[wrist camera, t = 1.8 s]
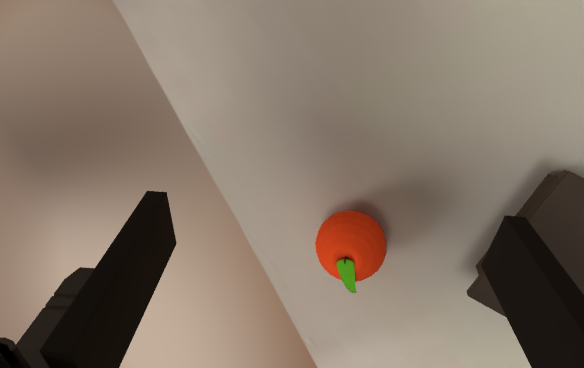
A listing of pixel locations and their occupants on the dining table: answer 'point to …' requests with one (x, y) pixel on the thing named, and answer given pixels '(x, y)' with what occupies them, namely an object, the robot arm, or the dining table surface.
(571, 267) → the stand
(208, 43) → the dining table surface
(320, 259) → the clementine
